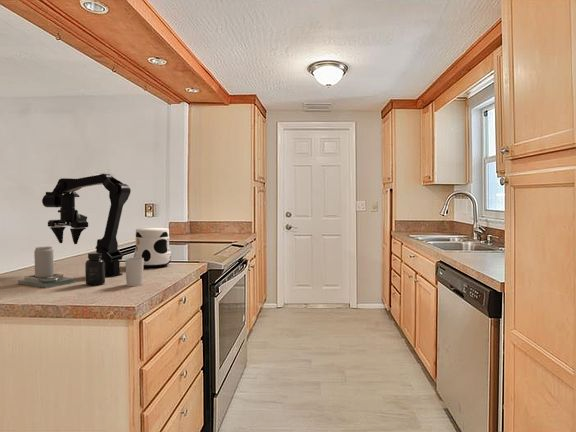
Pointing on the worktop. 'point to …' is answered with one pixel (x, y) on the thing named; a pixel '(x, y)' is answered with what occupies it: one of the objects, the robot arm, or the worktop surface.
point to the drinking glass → (134, 271)
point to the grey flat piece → (46, 281)
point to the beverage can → (43, 262)
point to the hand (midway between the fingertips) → (68, 243)
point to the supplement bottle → (95, 269)
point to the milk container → (153, 246)
